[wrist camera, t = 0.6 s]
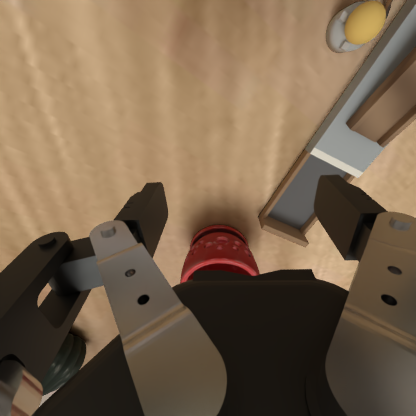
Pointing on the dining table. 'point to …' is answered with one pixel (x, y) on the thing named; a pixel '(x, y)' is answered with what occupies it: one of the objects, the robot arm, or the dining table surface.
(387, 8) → the lion figurine
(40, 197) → the dining table surface
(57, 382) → the squash
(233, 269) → the plant pot
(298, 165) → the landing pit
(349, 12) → the grey dome cap
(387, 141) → the ramp
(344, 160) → the deck
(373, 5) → the ball
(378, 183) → the dining table surface
